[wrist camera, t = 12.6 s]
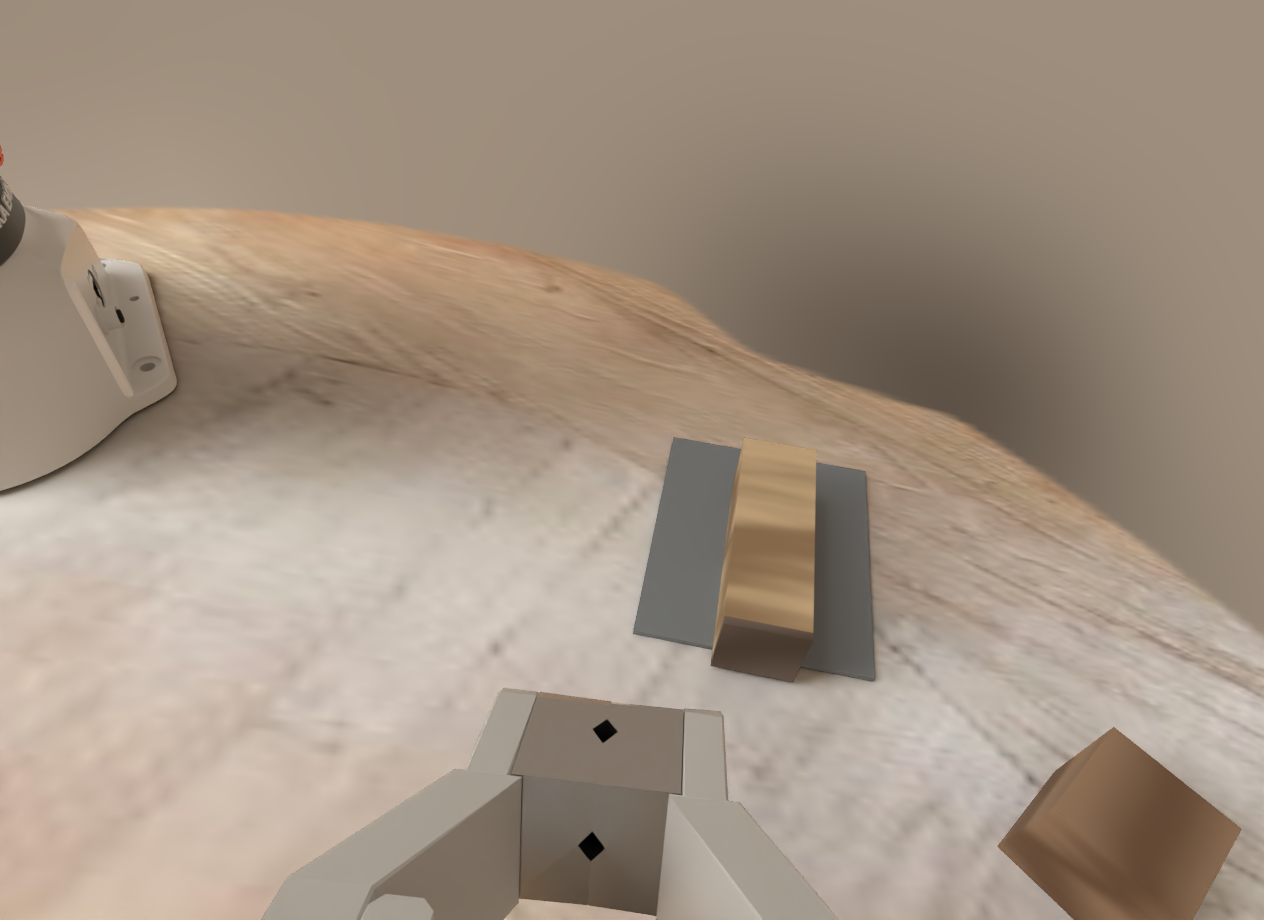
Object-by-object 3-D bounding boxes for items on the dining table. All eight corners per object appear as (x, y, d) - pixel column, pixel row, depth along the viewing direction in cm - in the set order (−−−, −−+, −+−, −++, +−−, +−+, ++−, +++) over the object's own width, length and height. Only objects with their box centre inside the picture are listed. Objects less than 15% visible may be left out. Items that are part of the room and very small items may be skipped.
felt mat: (872, 681, 36) (874, 678, 36) (633, 633, 37) (633, 630, 37) (863, 474, 46) (865, 471, 45) (673, 440, 47) (673, 437, 46)
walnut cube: (996, 846, 31) (1054, 807, 28) (1053, 771, 34) (1113, 726, 30) (1109, 954, 29) (1187, 927, 25) (1162, 865, 31) (1241, 829, 28)
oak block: (813, 640, 33) (816, 450, 41) (723, 623, 33) (744, 437, 41) (792, 682, 35) (799, 496, 44) (710, 665, 36) (732, 484, 44)
